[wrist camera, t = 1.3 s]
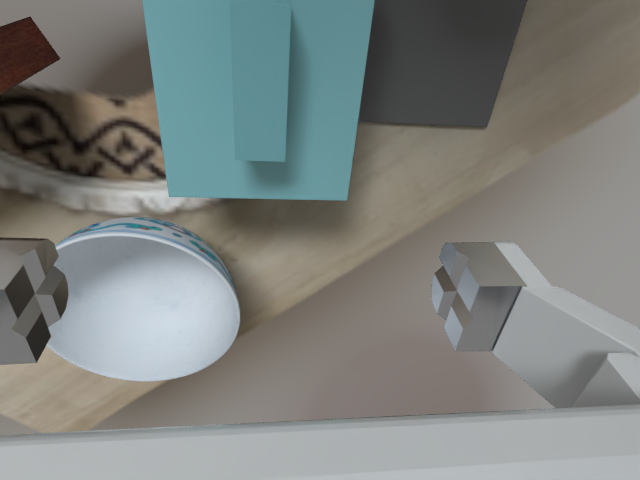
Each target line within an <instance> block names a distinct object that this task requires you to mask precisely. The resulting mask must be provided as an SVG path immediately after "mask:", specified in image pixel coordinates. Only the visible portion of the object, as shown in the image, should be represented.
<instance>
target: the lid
mask: <svg viewBox="0 0 640 480" xmlns="http://www.w3.org/2000/svg"><path fill="white" fill-rule="evenodd" d="M374 1H375V0H142V2H143V9H144V17H145V24H146V31H147V38H148V46H149V53H150V61H151V68H152V75H153V83H154V90H155V97H156V105H157V112H158V119H159V127H160V134H161V141H162V149H163V156H164V163H165V171H166V178H167V186H168V193H169V197H199V198H248V199H296V200H344V201H347V197H348V190H349V183H350V176H351V168H352V161H353V154H354V147H355V139H356V132H357V125H358V117H359V110H360V103H361V96H362V88H363V81H364V74H365V67H366V59H367V52H368V45H369V38H370V30H371V23H372V16H373V9H374Z"/></svg>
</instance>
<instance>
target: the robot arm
mask: <svg viewBox="0 0 640 480" xmlns="http://www.w3.org/2000/svg"><path fill="white" fill-rule="evenodd" d="M58 257H59V255H58V253H57V250H56V247H55V245H54V243H53V242H52V241H50V240H49V239H37V238H0V365H6V364H24V363H37V361H38V359H39V357H40V356H41V354H42V352H43V350H44V348H45V347H46V345H47V343H48V341H49V339H50V338H51V334H50V331H49V329H48V327H49V326H51V325H53V324H54V323H56V322H57V321H59V320H60V319H61V317H62V315H63V313H64V311H65V310H66V306H67V301H68V296H69V293H68V283H67V280H66V277H65V274H64V273H63V272H61V271H60V270H59V269H58V268H56V267H55V266H54V264H55V262H56V261H57V259H58ZM439 258H440V260H441V262H442V264H443V266H442V267H441V268H440V269H439V270H438V271H437V272H435V273H434V277H433V281H432V285H431V289H432V290H431V295H432V296H431V297H432V301H433V305H434V308H435V310H436V312H437V314H438V315H440V316H441V317H443V318H444V319H446V323H445V327H444V329H445V331H446V334H447V336H448V338H449V340H450V342H451V344H452V346H453V348H454V350H455V351H493V352H492V353H493V354H494V355H495V356H496V357H497V358H498V359H500V360H501V361H502V362H503V363H504V364H506V365H507V366H508V367H509V368H510V369H511V370H512V371H513V372H515V373H516V374H517V375H518V376H519V377H520V378H522V379H523V380H524V381H525V382H526V383H527V384H529V385H530V386H531V387H532V388H533V389H534V390H536V391H537V392H538V393H539V394H540V395H541V396H543V397H544V398H545V399H546V400H547V401H548V402H549V403H551V404H552V405H553V406H554V407H555V408H553V409H532V410H512V411H491V412H472V413H449V414H429V415H408V416H388V417H387V416H386V417H366V418H345V419H324V420H303V421H284V422H283V421H282V422H262V423H241V424H222V425H200V426H181V427H180V426H179V427H160V428H138V429H119V430H99V431H76V432H55V433H35V434H14V435H0V480H640V329H639V328H638V327H636V326H634V325H632V324H630V323H628V322H626V321H624V320H622V319H620V318H618V317H616V316H614V315H613V314H610V313H609V312H607V311H605V310H603V309H601V308H599V307H597V306H595V305H593V304H592V303H590V302H588V301H586V300H584V299H582V298H580V297H578V296H576V295H574V294H572V293H570V292H568V291H566V290H565V289H562V288H561V287H552V286H551V284H550V283H549V282H548V281H547V280H546V279H545V277H544V276H543V275H542V274H541V273H540V272H539V270H538V269H537V268H536V267H535V266H534V264H533V263H532V262H531V261H530V260H529V259H528V258H527V256H526V255H525V254H524V253H523V251H521V249H520V248H519V247H518V246H517V244H515V243H513V242H511V241H504V242H503V241H502V242H472V243H471V242H468V243H467V242H462V243H446V244H445V245H444V246H443V248H442V250H441V253H440V257H439Z"/></svg>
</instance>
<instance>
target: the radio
mask: <svg viewBox="0 0 640 480" xmlns="http://www.w3.org/2000/svg"><path fill="white" fill-rule="evenodd" d="M59 59H60V58H59V56H58V55H57V53H56V52H55V51H54V49H53V48H52V46H51V45H50V44H49V42H48V41H47V39H46V38H45V37H44V35H43V34H42V33H41V31H40V30H39V28H38V27H37V25H36V24H35V23H34V22H33V20H32V18H31V17H27V18H25V19H22V20H19V21H16V22H13V23H10V24H7V25H4V26H1V27H0V95H1V94H2V93H4V92H6V91H7V90H9V89H11V88H12V87H14V86H16V85H17V84H19V83H21V82H22V81H24V80H26V79H27V78H29V77H31V76H32V75H34V74H36V73H37V72H39V71H41V70H43V69H44V68H46V67H47V66H49V65H51V64H53V63H54V62H56V61H58V60H59ZM0 98H2V97H1V96H0Z"/></svg>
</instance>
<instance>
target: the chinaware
mask: <svg viewBox="0 0 640 480" xmlns="http://www.w3.org/2000/svg"><path fill="white" fill-rule="evenodd" d="M55 247H56V250H57V253H58V255H59V257H58V259H57V261H56V262H55V264H54V266H55V267H56V268H58V269H59V270H60V271H61V272H63V273H64V274H65V277H66V280H67V283H68V293H69V296H68V301H67V306H66V310H65V311H64V313H63V315H62V317H61V319H60V320H59V321H57V322H56V323H54V324H53V325H51V326H49V327H48V329H49V331H50V334H51V338H50V339H49V341H48V343H47V345H46V346H47V347H48V348H50V349H51V350H52V351H53V352H55V353H56V354H57V355H59V356H60V357H62V358H63V359H65V360H67V361H68V362H70V363H72V364H74V365H76V366H78V367H80V368H82V369H85V370H87V371H90V372H93V373H96V374H99V375H102V376H106V377H111V378H115V379H121V380H129V381H162V380H170V379H175V378H180V377H183V376H186V375H190V374H193V373H195V372H198V371H200V370H202V369H204V368H206V367H208V366H210V365H211V364H213V363H214V362H216V361H217V360H218V359H219V358H220V357H221V356H223V355H224V354H225V353H226V351H227V350H228V349H229V348H230V346H231V345H232V344H233V342H234V340H235V338H236V336H237V333H238V330H239V325H240V306H239V301H238V296H237V292H236V289H235V286H234V283H233V280H232V278H231V276H230V274H229V272H228V270H227V268H226V266H225V265H224V263H223V261H222V260H221V258H220V257H219V256H218V255H217V253H216V252H215V251H214V250H213V249H212V248H211V247H210V246H209V245H208V244H207V243H206V242H205V241H203V240H202V239H201V238H200V237H198V236H197V235H195V234H194V233H192V232H190V231H189V230H187V229H185V228H183V227H181V226H178V225H176V224H173V223H170V222H167V221H163V220H159V219H153V218H145V217H126V218H117V219H111V220H107V221H103V222H100V223H96V224H94V225H91V226H88V227H86V228H84V229H82V230H79V231H77V232H76V233H74V234H72V235H70V236H68V237H67V238H65V239H64V240H62V241H61V242H59V243H58V244H57V245H55Z"/></svg>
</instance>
